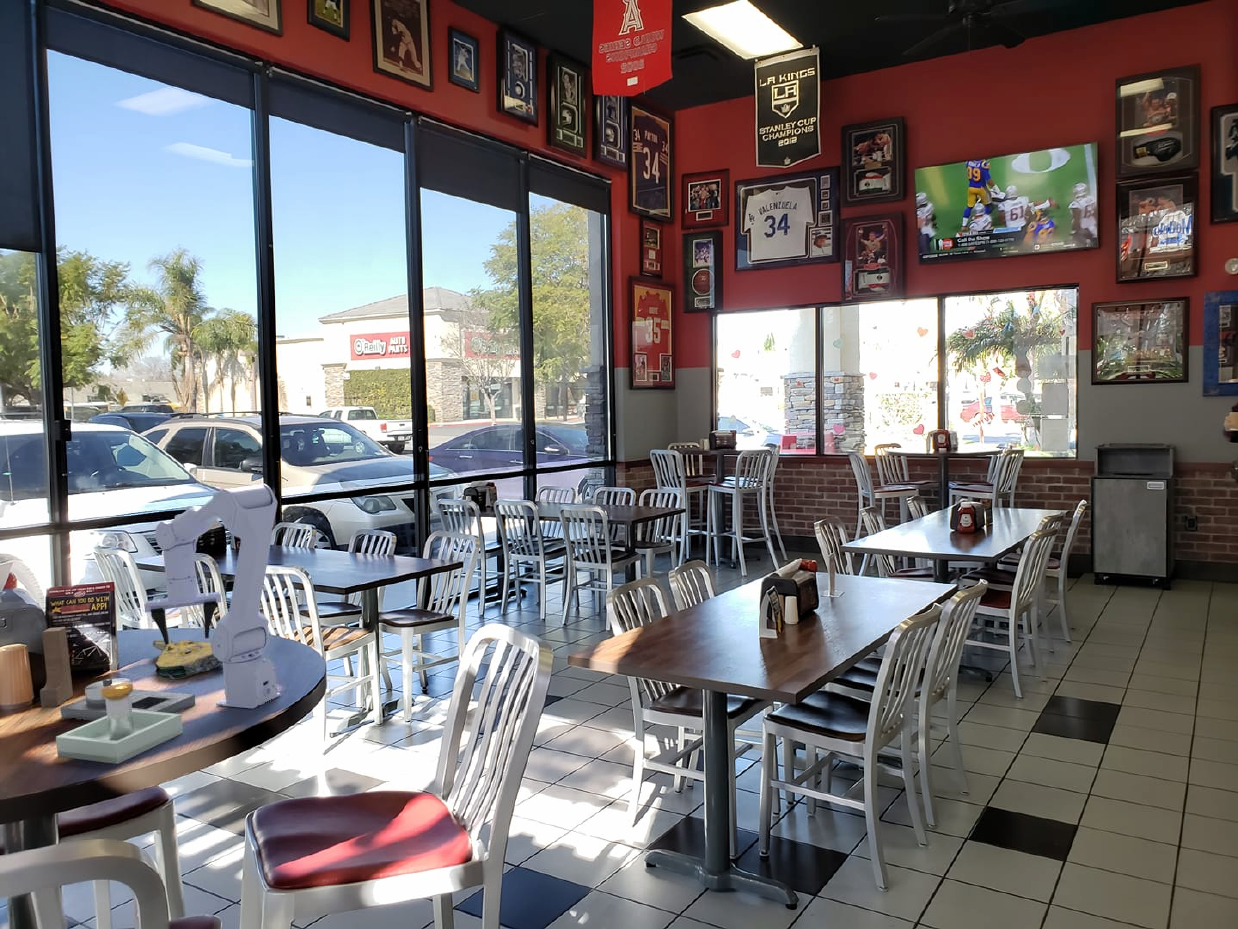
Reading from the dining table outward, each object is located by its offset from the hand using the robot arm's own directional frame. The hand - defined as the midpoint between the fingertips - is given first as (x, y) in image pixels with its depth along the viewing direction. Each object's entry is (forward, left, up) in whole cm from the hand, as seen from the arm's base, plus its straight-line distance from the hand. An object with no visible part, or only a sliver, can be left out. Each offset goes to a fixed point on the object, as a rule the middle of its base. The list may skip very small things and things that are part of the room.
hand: (187, 640), depth 193 cm
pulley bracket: (+2, +14, -10) cm, 18 cm away
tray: (-12, +28, -10) cm, 32 cm away
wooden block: (+23, +13, -11) cm, 28 cm away
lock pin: (-11, +27, -9) cm, 31 cm away
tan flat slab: (+16, -14, -11) cm, 23 cm away
